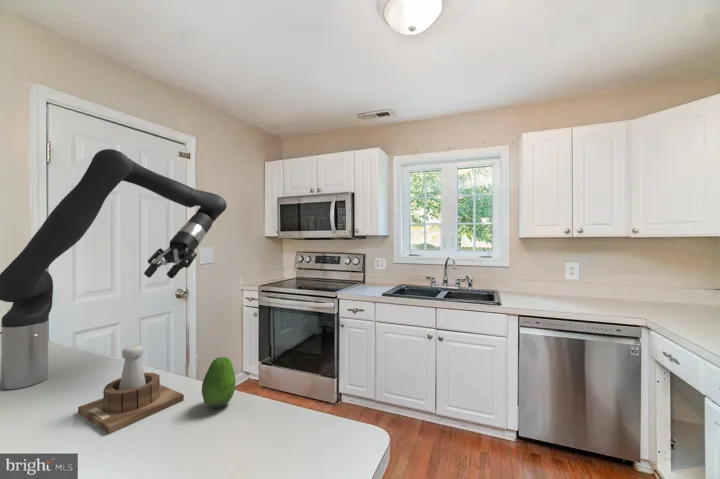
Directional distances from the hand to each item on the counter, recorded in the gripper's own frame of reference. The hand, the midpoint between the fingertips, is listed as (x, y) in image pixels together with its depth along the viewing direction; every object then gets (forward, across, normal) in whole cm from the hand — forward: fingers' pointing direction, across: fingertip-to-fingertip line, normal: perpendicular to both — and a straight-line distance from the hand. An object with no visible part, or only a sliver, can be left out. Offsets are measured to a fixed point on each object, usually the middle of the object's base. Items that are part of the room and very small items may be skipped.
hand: (158, 276), depth 92 cm
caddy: (+32, +8, +12) cm, 35 cm away
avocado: (+28, +28, +16) cm, 43 cm away
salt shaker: (+30, +7, +11) cm, 33 cm away
